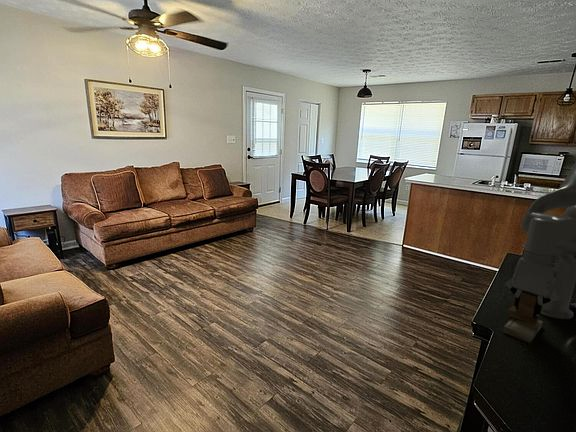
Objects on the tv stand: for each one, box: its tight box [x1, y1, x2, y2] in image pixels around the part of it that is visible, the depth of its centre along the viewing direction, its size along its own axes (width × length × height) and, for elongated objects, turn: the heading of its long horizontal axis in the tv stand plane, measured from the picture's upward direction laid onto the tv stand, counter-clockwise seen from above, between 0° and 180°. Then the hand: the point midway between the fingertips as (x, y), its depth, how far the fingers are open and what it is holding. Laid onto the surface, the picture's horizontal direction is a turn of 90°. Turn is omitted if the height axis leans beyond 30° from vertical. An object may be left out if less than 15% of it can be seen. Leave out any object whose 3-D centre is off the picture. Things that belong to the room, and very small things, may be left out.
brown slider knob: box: [506, 291, 540, 325], centre depth 101 cm, size 4×7×11 cm, turn 40°
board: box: [502, 317, 544, 344], centre depth 100 cm, size 14×7×2 cm, turn 130°
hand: (526, 311), depth 101 cm, fingers closed on brown slider knob, 4 cm apart
